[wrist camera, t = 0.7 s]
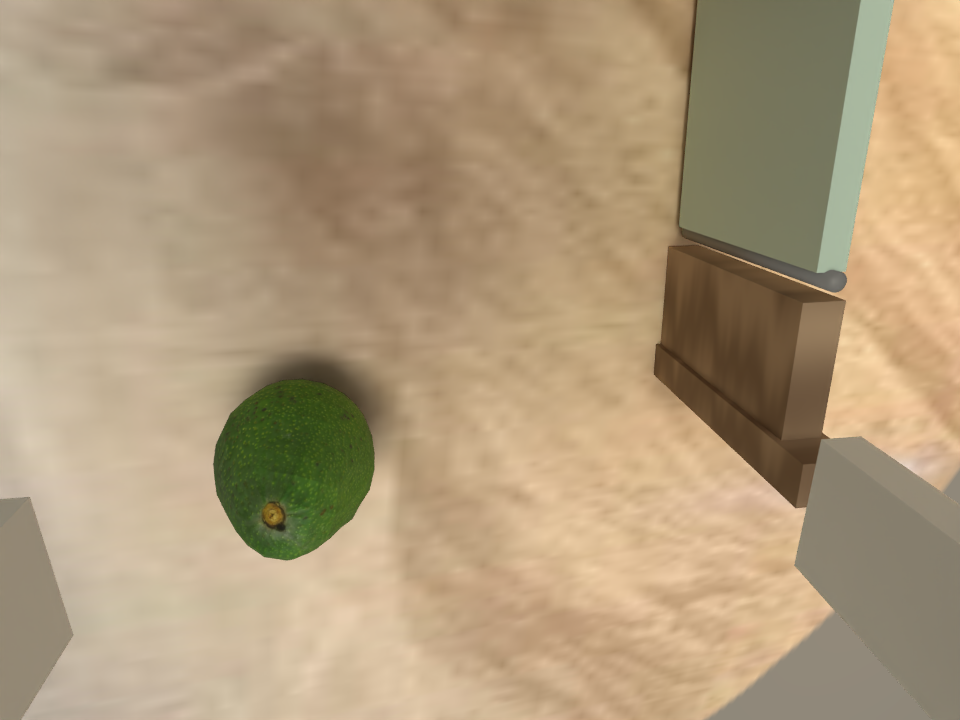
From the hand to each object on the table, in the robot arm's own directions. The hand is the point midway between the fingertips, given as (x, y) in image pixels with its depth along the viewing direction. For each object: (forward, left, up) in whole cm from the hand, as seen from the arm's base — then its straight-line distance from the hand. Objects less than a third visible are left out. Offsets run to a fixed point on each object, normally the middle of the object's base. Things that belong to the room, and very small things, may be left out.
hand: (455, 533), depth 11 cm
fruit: (+9, -7, -26) cm, 29 cm away
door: (-10, +16, -25) cm, 31 cm away
